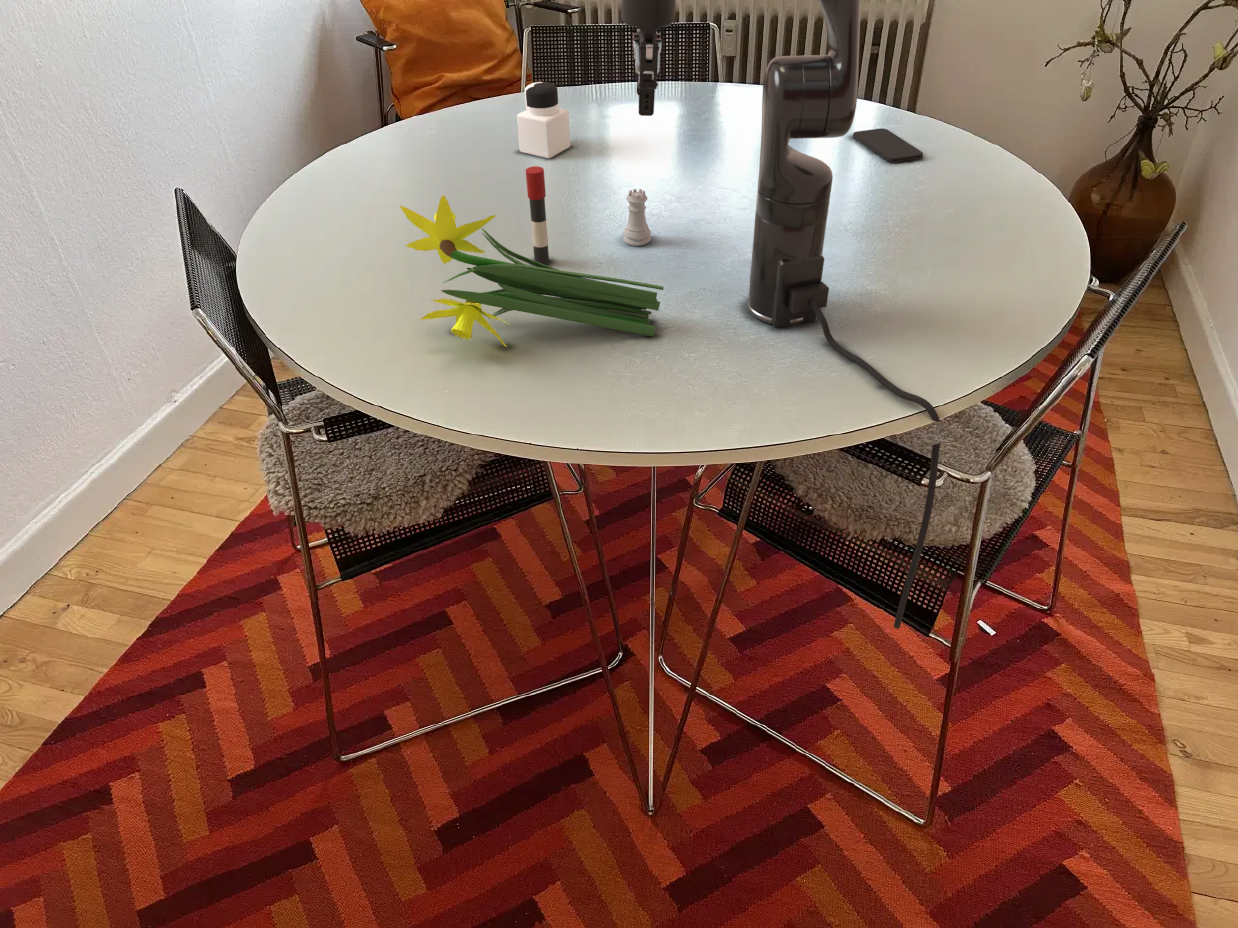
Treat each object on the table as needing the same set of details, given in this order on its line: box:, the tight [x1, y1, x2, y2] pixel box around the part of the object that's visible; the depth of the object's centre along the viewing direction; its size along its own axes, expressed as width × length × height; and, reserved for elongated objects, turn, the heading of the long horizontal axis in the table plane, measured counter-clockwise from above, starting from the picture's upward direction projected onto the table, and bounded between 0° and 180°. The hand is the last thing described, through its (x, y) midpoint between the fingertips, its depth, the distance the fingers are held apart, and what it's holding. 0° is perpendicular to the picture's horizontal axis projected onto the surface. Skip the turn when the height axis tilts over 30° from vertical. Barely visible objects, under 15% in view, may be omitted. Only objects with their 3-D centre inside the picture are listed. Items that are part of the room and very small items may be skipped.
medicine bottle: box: [516, 81, 571, 159], centre depth 171 cm, size 7×7×12 cm
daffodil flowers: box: [399, 194, 664, 348], centre depth 119 cm, size 17×15×35 cm
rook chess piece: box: [622, 188, 652, 247], centre depth 142 cm, size 4×4×8 cm
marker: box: [525, 165, 550, 266], centre depth 134 cm, size 3×3×14 cm
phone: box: [852, 128, 924, 163], centre depth 172 cm, size 7×1×15 cm
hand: (644, 104), depth 136 cm, fingers open, 8 cm apart
